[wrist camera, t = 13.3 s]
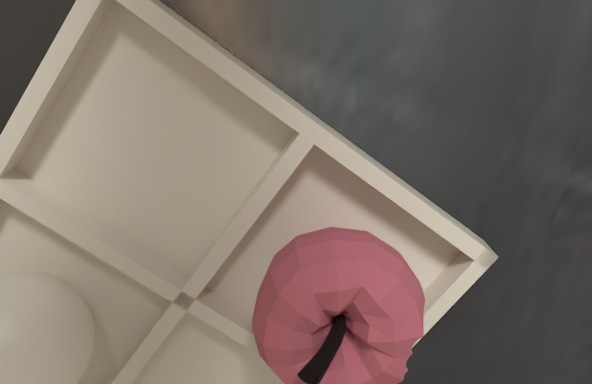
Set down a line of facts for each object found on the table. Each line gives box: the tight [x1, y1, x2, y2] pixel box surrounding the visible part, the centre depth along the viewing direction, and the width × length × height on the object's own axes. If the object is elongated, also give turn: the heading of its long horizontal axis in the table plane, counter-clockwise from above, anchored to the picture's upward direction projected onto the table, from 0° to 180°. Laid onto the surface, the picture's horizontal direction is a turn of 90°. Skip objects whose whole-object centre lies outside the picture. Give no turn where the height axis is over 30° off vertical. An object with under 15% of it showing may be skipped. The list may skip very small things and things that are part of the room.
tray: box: [0, 0, 498, 384], centre depth 32 cm, size 27×27×2 cm
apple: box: [252, 227, 425, 384], centre depth 27 cm, size 10×9×10 cm
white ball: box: [0, 272, 95, 384], centre depth 29 cm, size 8×8×8 cm
